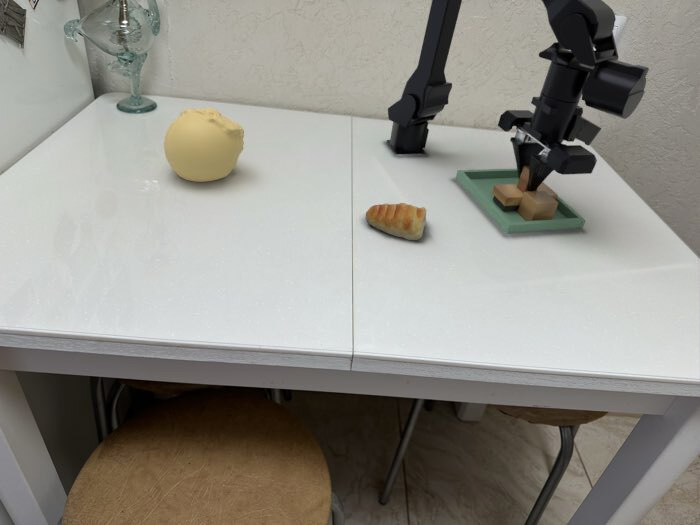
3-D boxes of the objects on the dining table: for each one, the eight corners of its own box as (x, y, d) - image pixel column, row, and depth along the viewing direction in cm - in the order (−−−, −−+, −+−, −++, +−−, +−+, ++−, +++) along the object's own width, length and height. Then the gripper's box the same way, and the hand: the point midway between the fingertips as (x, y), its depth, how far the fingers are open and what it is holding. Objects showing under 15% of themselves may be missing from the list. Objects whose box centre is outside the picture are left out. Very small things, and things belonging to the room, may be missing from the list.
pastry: (361, 231, 74) (364, 209, 72) (368, 209, 80) (372, 188, 78) (422, 244, 73) (427, 222, 71) (425, 221, 79) (430, 200, 77)
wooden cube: (529, 225, 80) (537, 204, 78) (516, 212, 83) (524, 191, 81) (550, 223, 81) (558, 202, 79) (536, 211, 84) (544, 190, 82)
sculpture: (254, 171, 86) (253, 110, 79) (206, 197, 77) (201, 132, 71) (204, 151, 90) (199, 92, 83) (153, 174, 81) (143, 110, 75)
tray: (505, 236, 78) (509, 225, 77) (454, 180, 92) (457, 170, 91) (581, 230, 82) (586, 219, 81) (521, 177, 96) (525, 168, 95)
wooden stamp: (502, 212, 82) (514, 175, 78) (489, 199, 86) (500, 163, 82) (552, 209, 85) (566, 173, 81) (538, 196, 89) (551, 161, 84)
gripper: (646, 119, 69) (601, 213, 79) (566, 77, 83) (536, 161, 93) (582, 119, 66) (542, 217, 76) (510, 75, 80) (484, 163, 90)
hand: (526, 187), depth 83 cm, fingers closed on wooden stamp, 2 cm apart
